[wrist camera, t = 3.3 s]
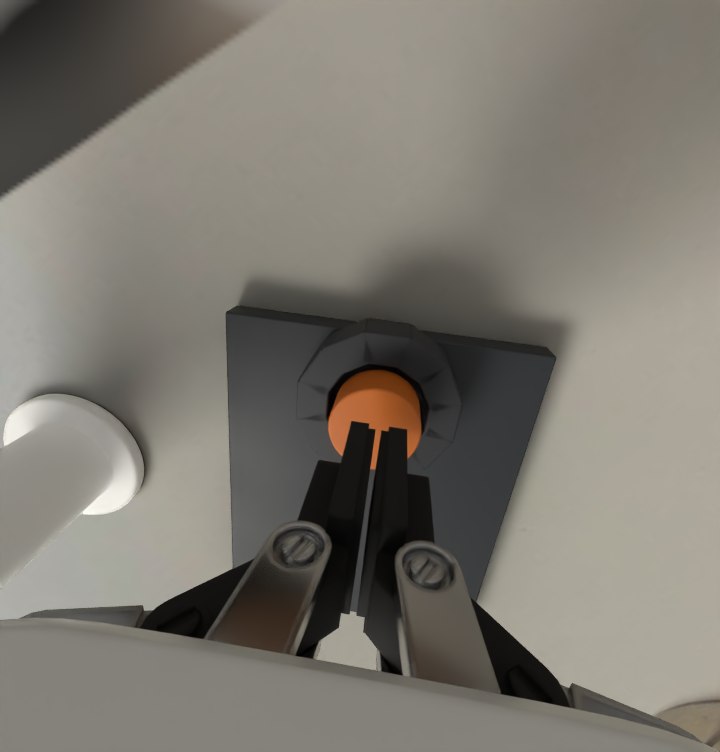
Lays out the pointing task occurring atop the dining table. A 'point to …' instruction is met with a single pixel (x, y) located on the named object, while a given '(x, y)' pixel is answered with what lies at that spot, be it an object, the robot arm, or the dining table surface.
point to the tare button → (376, 409)
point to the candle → (60, 473)
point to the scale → (437, 409)
